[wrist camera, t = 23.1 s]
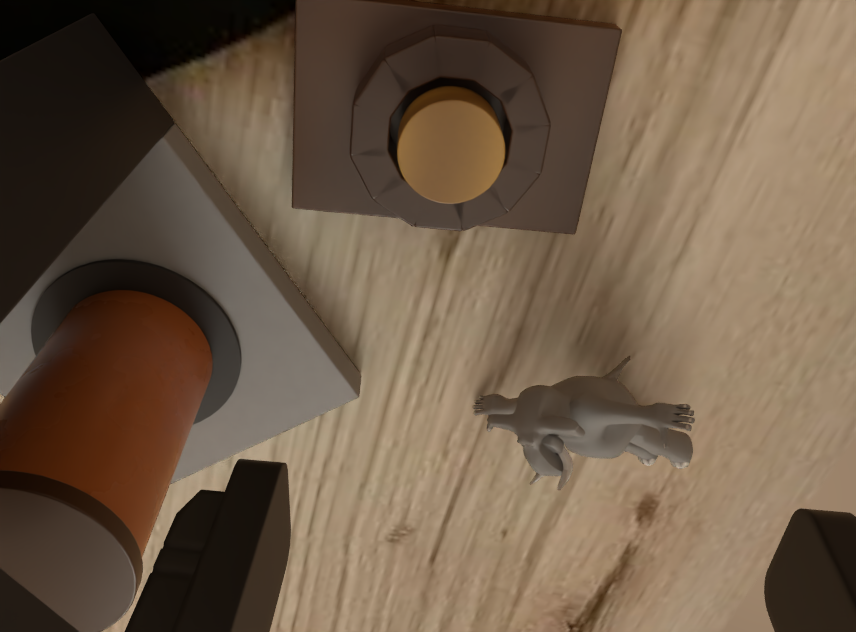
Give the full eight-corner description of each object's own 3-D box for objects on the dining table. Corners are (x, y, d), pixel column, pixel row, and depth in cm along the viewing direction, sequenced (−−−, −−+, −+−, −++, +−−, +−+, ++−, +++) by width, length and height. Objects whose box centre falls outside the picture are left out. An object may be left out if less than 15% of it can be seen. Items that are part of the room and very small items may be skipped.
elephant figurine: (561, 501, 35) (417, 464, 30) (581, 376, 37) (447, 318, 31) (777, 539, 28) (639, 498, 22) (793, 379, 29) (666, 304, 24)
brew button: (507, 90, 23) (513, 105, 22) (492, 189, 25) (496, 209, 24) (402, 79, 23) (402, 94, 22) (393, 180, 25) (392, 199, 23)
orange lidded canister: (215, 291, 27) (125, 495, 19) (221, 423, 30) (145, 648, 22) (41, 277, 27) (-132, 478, 18) (65, 411, 30) (-75, 637, 21)
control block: (616, 23, 24) (635, 40, 22) (571, 224, 28) (584, 255, 26) (299, -13, 24) (287, 1, 22) (295, 198, 27) (285, 228, 25)
